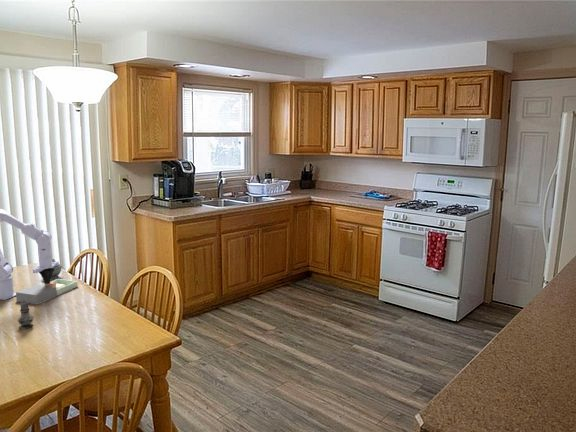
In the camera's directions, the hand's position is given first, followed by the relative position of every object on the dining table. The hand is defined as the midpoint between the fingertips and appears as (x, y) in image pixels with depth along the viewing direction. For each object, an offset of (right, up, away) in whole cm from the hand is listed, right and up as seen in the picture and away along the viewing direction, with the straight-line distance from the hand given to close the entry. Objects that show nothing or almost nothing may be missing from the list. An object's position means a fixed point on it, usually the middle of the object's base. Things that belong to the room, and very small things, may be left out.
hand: (47, 283), depth 233 cm
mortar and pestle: (-10, -1, +24) cm, 26 cm away
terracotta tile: (0, -3, +1) cm, 3 cm away
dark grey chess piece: (+10, -13, -37) cm, 40 cm away
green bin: (+2, -4, +7) cm, 9 cm away
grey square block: (-2, -7, -6) cm, 9 cm away
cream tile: (+2, -2, +6) cm, 7 cm away
